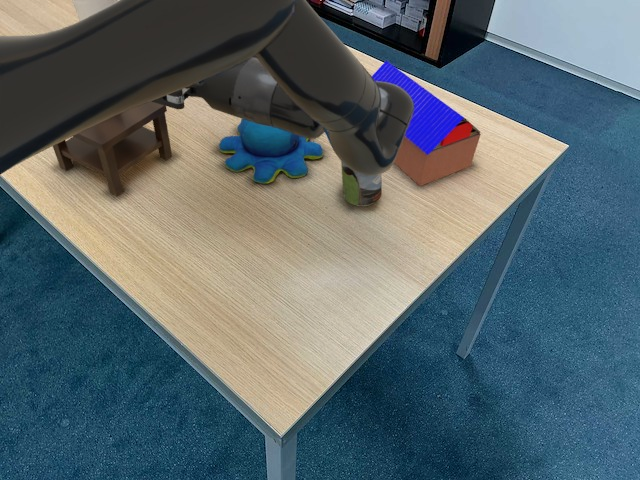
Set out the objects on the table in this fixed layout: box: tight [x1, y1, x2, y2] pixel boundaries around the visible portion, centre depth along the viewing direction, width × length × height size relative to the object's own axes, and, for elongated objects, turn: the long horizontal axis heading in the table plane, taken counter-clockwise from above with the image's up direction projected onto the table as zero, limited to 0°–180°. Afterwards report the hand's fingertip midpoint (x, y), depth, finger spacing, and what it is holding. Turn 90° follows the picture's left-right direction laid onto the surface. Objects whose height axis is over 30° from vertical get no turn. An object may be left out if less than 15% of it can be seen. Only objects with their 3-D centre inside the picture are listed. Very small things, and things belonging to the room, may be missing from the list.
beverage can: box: [340, 160, 383, 207], centre depth 83 cm, size 6×7×12 cm
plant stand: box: [52, 101, 173, 197], centre depth 86 cm, size 13×13×10 cm
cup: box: [71, 0, 119, 22], centre depth 115 cm, size 10×10×13 cm
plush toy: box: [218, 118, 324, 184], centre depth 91 cm, size 17×17×8 cm
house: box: [371, 60, 482, 187], centre depth 93 cm, size 12×20×12 cm, turn 32°
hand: (145, 55), depth 71 cm, fingers open, 8 cm apart
